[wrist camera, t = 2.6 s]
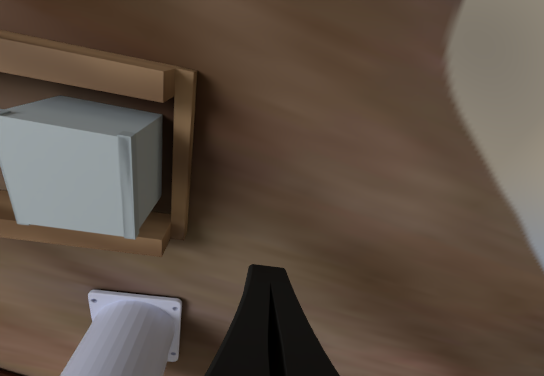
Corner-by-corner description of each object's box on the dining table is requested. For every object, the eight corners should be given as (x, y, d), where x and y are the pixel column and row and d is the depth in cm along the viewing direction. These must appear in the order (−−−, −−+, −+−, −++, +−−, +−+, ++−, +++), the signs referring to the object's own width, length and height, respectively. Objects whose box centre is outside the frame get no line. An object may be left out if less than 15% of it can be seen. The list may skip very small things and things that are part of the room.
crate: (163, 196, 20) (134, 239, 15) (73, 182, 19) (17, 223, 15) (164, 112, 17) (130, 137, 13) (59, 92, 16) (-16, 111, 12)
